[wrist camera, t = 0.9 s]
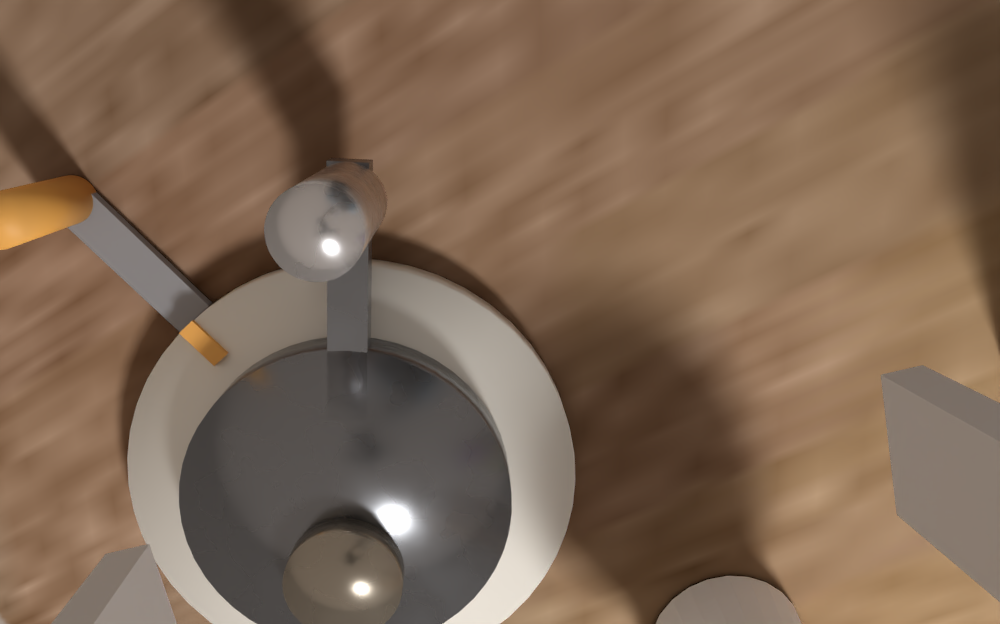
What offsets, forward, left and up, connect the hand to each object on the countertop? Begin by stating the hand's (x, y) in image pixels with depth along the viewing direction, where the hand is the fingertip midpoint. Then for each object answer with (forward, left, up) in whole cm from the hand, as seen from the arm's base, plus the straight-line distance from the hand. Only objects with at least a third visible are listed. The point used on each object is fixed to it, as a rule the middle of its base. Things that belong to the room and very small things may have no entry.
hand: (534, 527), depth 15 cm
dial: (+8, +3, -21) cm, 23 cm away
